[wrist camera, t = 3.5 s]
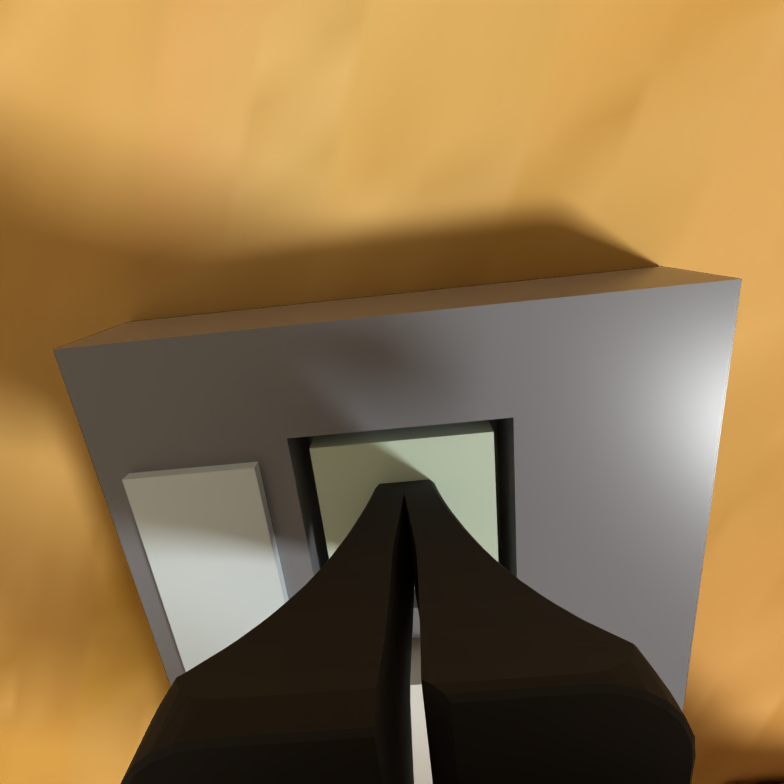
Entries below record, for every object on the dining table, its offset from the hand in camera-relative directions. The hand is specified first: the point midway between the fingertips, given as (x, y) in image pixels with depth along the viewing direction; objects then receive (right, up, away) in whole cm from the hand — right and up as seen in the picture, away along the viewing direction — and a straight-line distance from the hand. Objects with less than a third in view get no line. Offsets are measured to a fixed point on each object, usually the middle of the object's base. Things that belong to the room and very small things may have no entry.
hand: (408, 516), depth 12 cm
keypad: (+1, -5, +5) cm, 7 cm away
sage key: (0, 0, +1) cm, 1 cm away
